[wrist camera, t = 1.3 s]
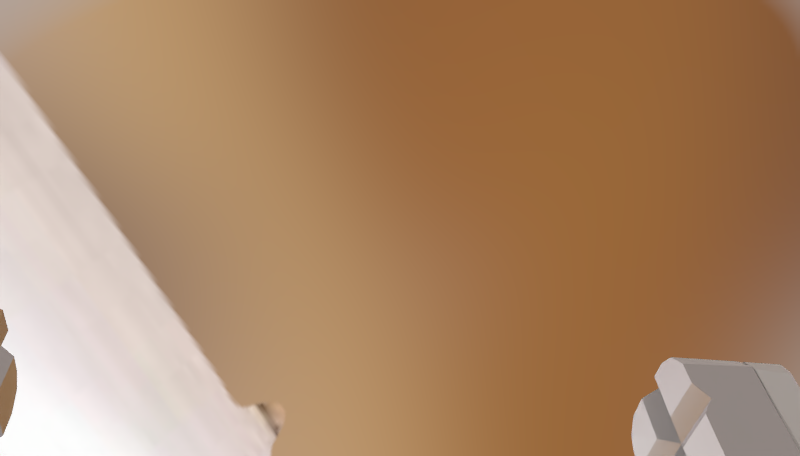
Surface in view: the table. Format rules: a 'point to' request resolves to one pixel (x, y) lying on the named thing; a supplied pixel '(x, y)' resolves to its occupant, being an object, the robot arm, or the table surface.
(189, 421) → the table surface
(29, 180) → the table surface
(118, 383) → the table surface
